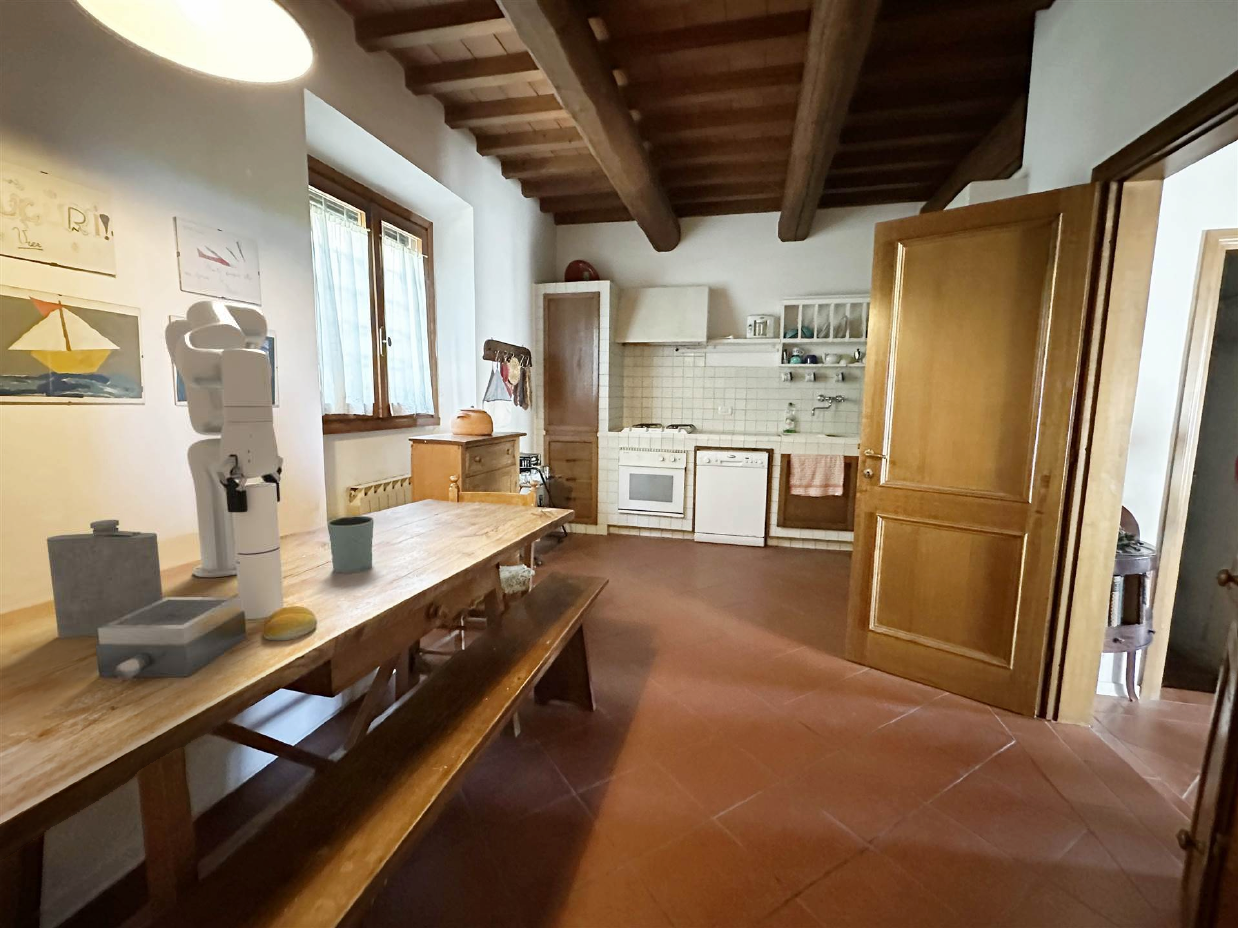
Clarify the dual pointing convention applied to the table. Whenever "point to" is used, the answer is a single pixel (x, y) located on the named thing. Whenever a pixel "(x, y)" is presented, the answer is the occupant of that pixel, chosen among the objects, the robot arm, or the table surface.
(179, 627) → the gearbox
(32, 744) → the table surface
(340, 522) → the green cup
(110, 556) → the hip flask
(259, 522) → the cylindrical container
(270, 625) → the bread roll
